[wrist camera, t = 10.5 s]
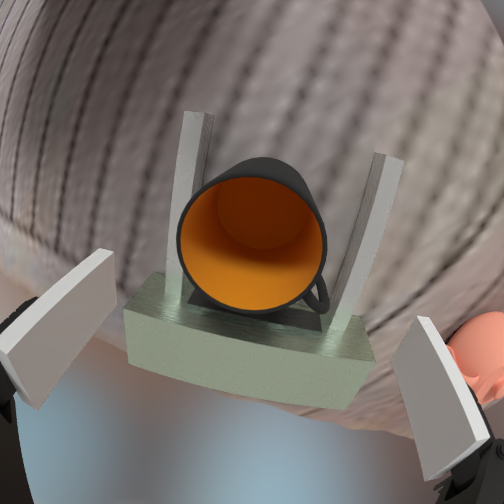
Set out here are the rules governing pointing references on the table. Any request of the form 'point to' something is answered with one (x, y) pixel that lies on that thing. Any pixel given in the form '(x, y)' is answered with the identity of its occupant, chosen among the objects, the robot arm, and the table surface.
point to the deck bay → (259, 325)
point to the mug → (254, 240)
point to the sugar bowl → (481, 354)
